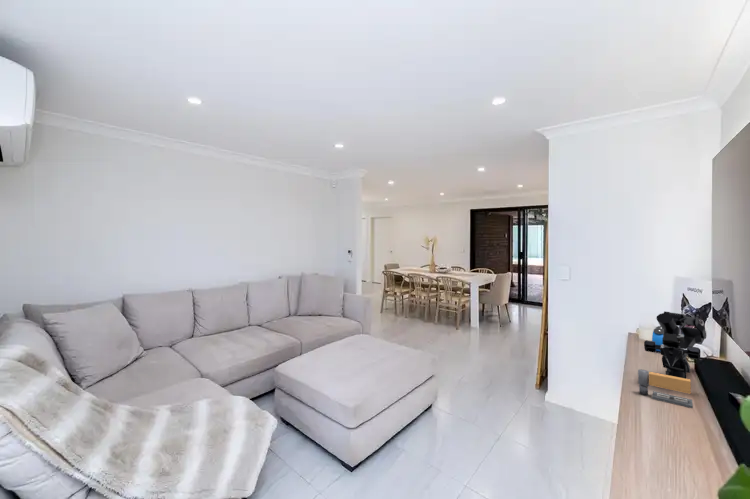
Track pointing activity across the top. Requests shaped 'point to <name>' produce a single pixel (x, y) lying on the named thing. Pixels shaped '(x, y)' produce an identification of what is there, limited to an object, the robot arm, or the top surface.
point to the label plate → (672, 399)
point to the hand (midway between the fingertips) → (671, 366)
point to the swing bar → (664, 381)
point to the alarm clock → (657, 336)
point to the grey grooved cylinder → (643, 390)
